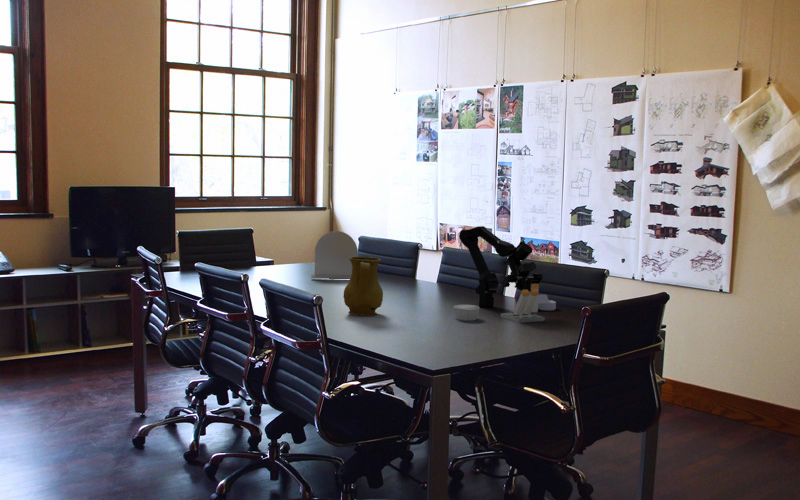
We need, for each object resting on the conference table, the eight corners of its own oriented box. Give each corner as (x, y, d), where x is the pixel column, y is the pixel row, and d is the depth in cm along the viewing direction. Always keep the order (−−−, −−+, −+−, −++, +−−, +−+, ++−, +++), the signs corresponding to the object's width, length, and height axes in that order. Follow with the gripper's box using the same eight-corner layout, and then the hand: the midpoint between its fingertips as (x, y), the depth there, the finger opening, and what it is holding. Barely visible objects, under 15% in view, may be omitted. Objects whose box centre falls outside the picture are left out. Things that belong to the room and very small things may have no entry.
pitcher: (390, 313, 332) (391, 256, 329) (368, 320, 315) (369, 260, 313) (356, 309, 340) (357, 253, 337) (334, 315, 323) (334, 257, 321)
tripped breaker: (529, 314, 325) (531, 283, 324) (534, 314, 326) (536, 283, 325) (532, 315, 323) (534, 284, 322) (537, 314, 324) (539, 284, 323)
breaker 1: (512, 314, 321) (522, 289, 314) (517, 313, 322) (527, 289, 315) (514, 317, 320) (524, 292, 312) (519, 317, 321) (529, 292, 314)
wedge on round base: (532, 310, 345) (558, 310, 348) (533, 296, 344) (559, 295, 347) (524, 307, 353) (550, 306, 356) (525, 293, 353) (551, 292, 356)
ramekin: (476, 322, 316) (476, 309, 315) (450, 320, 319) (450, 308, 318) (481, 317, 326) (482, 305, 326) (456, 315, 330) (456, 303, 329)
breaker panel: (500, 316, 328) (500, 312, 328) (525, 314, 334) (525, 311, 334) (518, 322, 316) (519, 318, 316) (544, 320, 321) (544, 316, 321)
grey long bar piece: (521, 313, 323) (531, 289, 316) (526, 313, 324) (536, 288, 317) (523, 316, 322) (533, 292, 314) (528, 316, 323) (538, 292, 316)
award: (359, 278, 436) (360, 230, 433) (361, 280, 427) (361, 232, 424) (311, 278, 433) (311, 230, 430) (311, 280, 424) (311, 231, 421)
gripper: (506, 256, 326) (519, 285, 317) (541, 255, 334) (556, 283, 325) (495, 272, 334) (508, 300, 325) (530, 270, 342) (544, 298, 333)
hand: (529, 295), depth 327 cm, fingers closed
